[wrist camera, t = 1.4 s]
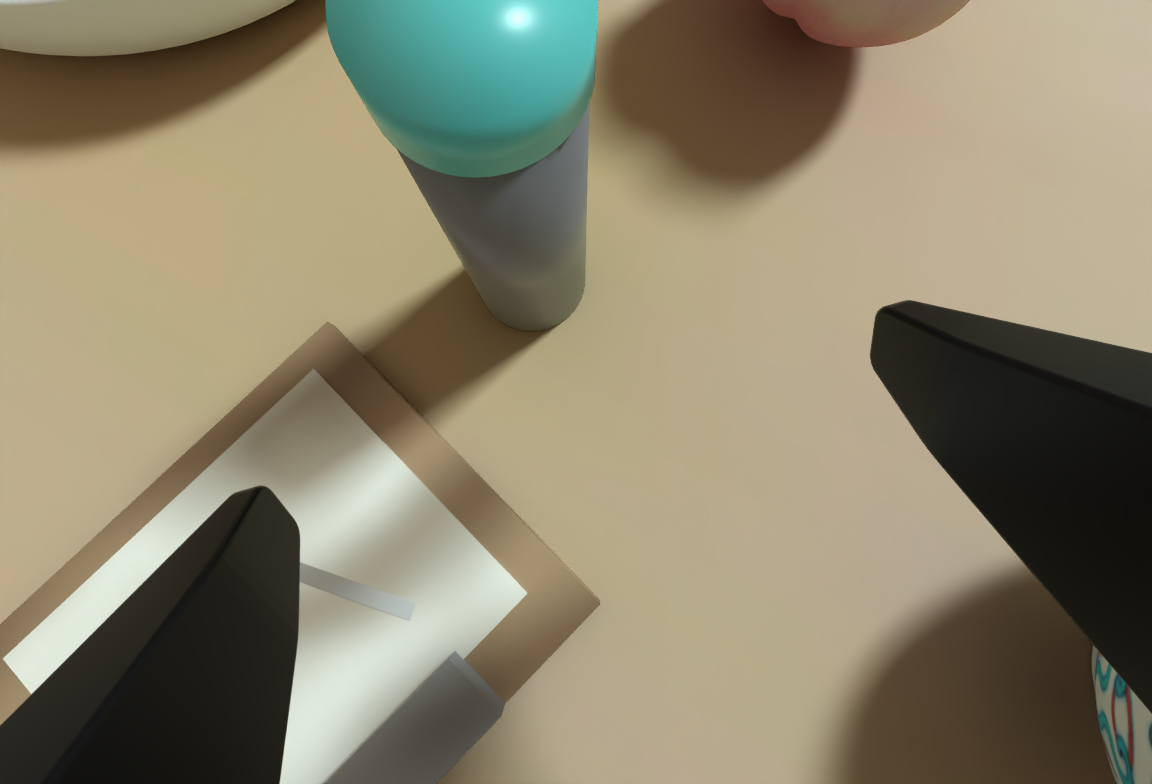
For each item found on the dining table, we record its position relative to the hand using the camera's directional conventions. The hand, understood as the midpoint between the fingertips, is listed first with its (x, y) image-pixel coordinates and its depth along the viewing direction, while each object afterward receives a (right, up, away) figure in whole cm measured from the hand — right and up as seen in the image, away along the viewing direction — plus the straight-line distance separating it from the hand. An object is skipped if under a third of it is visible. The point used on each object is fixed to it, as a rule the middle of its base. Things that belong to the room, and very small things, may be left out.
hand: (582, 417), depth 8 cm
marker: (-2, +5, +13) cm, 14 cm away
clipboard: (-10, -8, +12) cm, 17 cm away
